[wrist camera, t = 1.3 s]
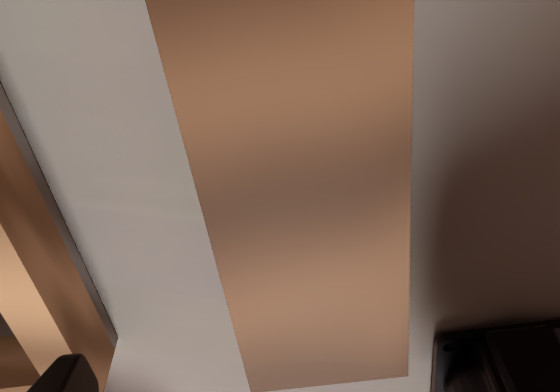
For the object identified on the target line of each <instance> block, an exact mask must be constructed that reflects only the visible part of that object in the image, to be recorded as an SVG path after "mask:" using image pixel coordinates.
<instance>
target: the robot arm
mask: <svg viewBox="0 0 560 392" xmlns="http://www.w3.org/2000/svg"><path fill="white" fill-rule="evenodd" d="M26 392H99V383H98V380H97V377H96V375H95V374H94V372H93V370H92V368H91V366H90V364H89V362H88V360H87V358H86V357H85V355H83V354H82V353H74V354H65V355H61V356H59V357H58V358H57V359H56V360H55V361H54V362H53V363H52V364H51V365H50V366H49V367H48V368H47V370H46V371H45V372H44V373H43V374H42V375H41V376H40V377H39V378H38V379H37V381H36V382H35V383H34V384H33V385H32V386H31V387H30V388H29V389H28V390H27V391H26ZM431 392H560V320H555V321H546V322H537V323H528V324H519V325H510V326H501V327H492V328H483V329H474V330H465V331H456V332H447V333H443V334H440V335H439V336H437V337H436V339H435V341H434V356H433V372H432V388H431Z"/></svg>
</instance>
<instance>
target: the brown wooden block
mask: <svg viewBox="0 0 560 392" xmlns="http://www.w3.org/2000/svg"><path fill="white" fill-rule="evenodd" d="M145 2H146V6H147V9H148V13H149V17H150V20H151V24H152V28H153V31H154V35H155V39H156V43H157V46H158V50H159V54H160V57H161V61H162V65H163V68H164V72H165V76H166V80H167V83H168V87H169V91H170V94H171V98H172V102H173V105H174V109H175V113H176V117H177V120H178V124H179V128H180V131H181V135H182V139H183V142H184V146H185V150H186V154H187V157H188V161H189V165H190V168H191V172H192V176H193V179H194V183H195V187H196V190H197V194H198V198H199V202H200V205H201V209H202V213H203V216H204V220H205V224H206V227H207V231H208V235H209V239H210V242H211V246H212V250H213V253H214V257H215V261H216V264H217V268H218V272H219V276H220V279H221V283H222V287H223V290H224V294H225V298H226V301H227V305H228V309H229V313H230V316H231V320H232V324H233V327H234V331H235V335H236V338H237V342H238V346H239V350H240V353H241V357H242V361H243V364H244V368H245V372H246V375H247V379H248V383H249V386H250V390H251V392H265V391H274V390H283V389H293V388H302V387H311V386H321V385H330V384H339V383H348V382H358V381H367V380H376V379H386V378H395V377H404V376H408V353H409V287H410V220H411V154H412V88H413V22H414V0H145Z"/></svg>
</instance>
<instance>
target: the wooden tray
mask: <svg viewBox="0 0 560 392" xmlns="http://www.w3.org/2000/svg"><path fill="white" fill-rule="evenodd" d="M117 340H118V337H117V334H116V332H115V330H114V328H113V326H112V324H111V321H110V319H109V317H108V315H107V313H106V311H105V308H104V306H103V304H102V302H101V300H100V298H99V295H98V293H97V291H96V289H95V287H94V285H93V282H92V280H91V278H90V276H89V274H88V272H87V269H86V267H85V265H84V263H83V261H82V259H81V256H80V254H79V252H78V250H77V248H76V246H75V243H74V241H73V239H72V237H71V235H70V233H69V230H68V228H67V226H66V224H65V222H64V220H63V217H62V215H61V213H60V211H59V209H58V207H57V204H56V202H55V200H54V198H53V196H52V194H51V191H50V189H49V187H48V185H47V183H46V181H45V178H44V176H43V174H42V172H41V170H40V168H39V165H38V163H37V161H36V159H35V157H34V155H33V152H32V150H31V148H30V146H29V144H28V142H27V139H26V137H25V135H24V133H23V131H22V129H21V126H20V124H19V122H18V120H17V118H16V116H15V113H14V111H13V109H12V107H11V105H10V103H9V100H8V98H7V96H6V94H5V92H4V90H3V87H2V85H1V83H0V392H26V391H27V390H28V389H29V388H30V387H31V386H32V385H33V384H34V383H35V382H36V381H37V379H38V378H39V377H40V376H41V375H42V374H43V373H44V372H45V371H46V370H47V368H48V367H49V366H50V365H51V364H52V363H53V362H54V361H55V360H56V359H57V358H58V357H59V356H61V355H65V354H74V353H82V354H83V355H85V357H86V358H87V360H88V362H89V364H90V366H91V368H92V370H93V372H94V374H95V375H96V377H97V380H98V383H99V392H103V391H104V387H105V384H106V380H107V376H108V373H109V369H110V365H111V362H112V358H113V354H114V351H115V347H116V343H117Z"/></svg>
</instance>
